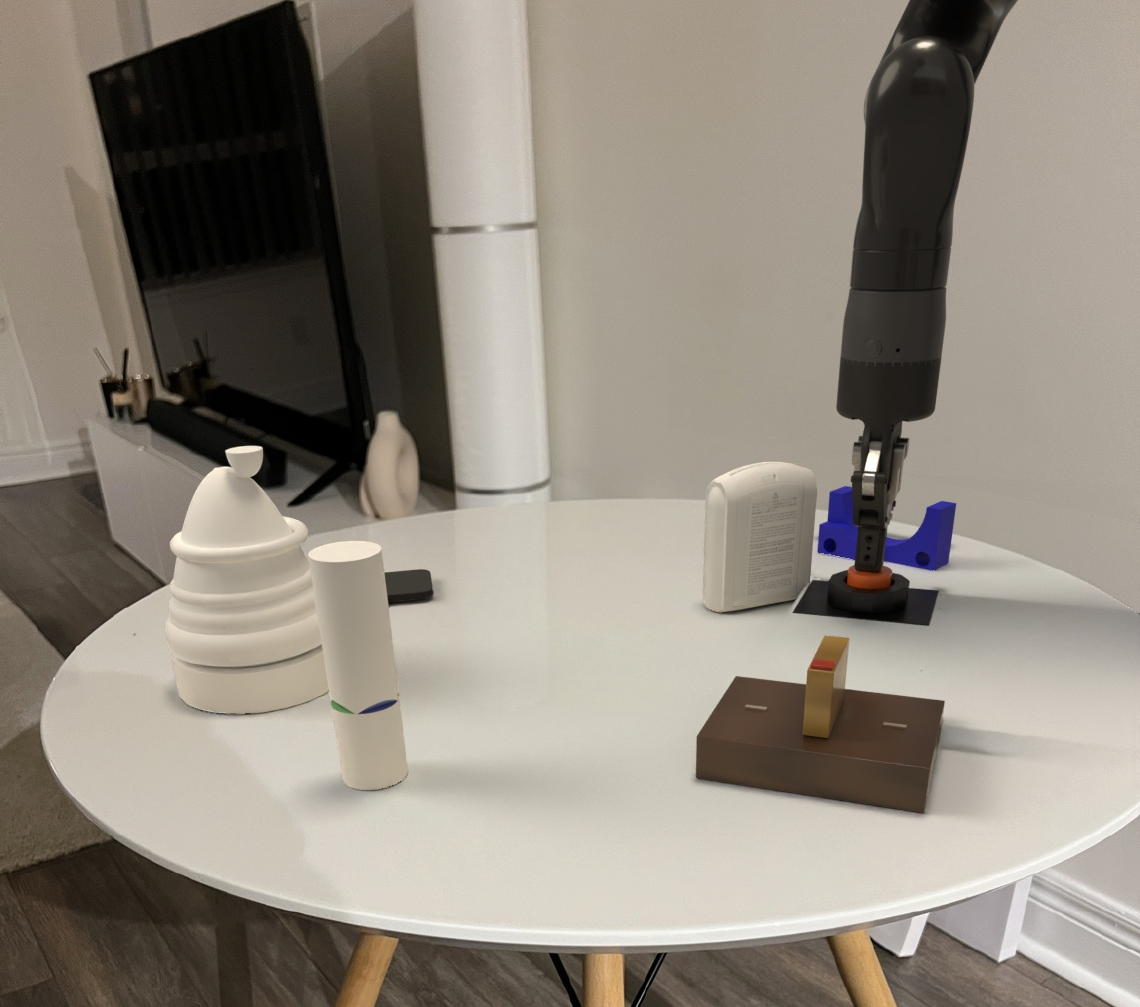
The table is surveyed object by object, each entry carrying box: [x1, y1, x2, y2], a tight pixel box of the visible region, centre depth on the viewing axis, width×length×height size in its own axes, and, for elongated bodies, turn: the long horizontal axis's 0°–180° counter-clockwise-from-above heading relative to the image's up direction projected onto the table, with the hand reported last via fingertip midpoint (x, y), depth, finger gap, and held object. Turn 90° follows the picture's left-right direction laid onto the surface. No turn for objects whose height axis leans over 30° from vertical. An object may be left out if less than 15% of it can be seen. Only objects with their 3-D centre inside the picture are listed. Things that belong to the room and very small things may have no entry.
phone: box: [384, 568, 434, 603], centre depth 103 cm, size 7×1×15 cm
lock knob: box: [803, 634, 850, 738], centre depth 67 cm, size 6×2×5 cm, turn 158°
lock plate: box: [695, 675, 946, 814], centre depth 69 cm, size 14×10×3 cm
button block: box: [792, 569, 940, 627], centre depth 91 cm, size 11×9×4 cm
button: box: [847, 564, 893, 589], centre depth 91 cm, size 4×4×2 cm
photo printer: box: [702, 461, 818, 613], centre depth 95 cm, size 10×4×12 cm, turn 115°
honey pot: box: [164, 445, 329, 715], centre depth 81 cm, size 13×13×18 cm
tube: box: [307, 540, 409, 791], centre depth 67 cm, size 4×4×15 cm
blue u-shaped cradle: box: [816, 485, 957, 572], centre depth 106 cm, size 12×4×6 cm, turn 46°
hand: (868, 569), depth 90 cm, fingers closed
